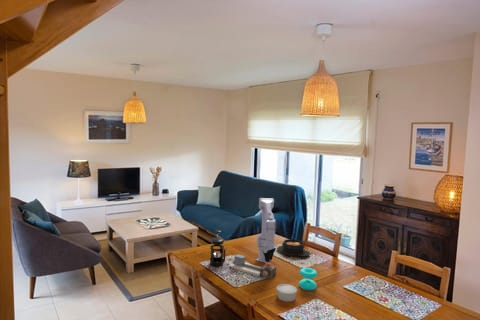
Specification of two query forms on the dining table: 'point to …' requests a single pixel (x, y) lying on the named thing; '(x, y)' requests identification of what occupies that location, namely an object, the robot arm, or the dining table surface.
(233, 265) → the rail
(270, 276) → the cabinet
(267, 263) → the button
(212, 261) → the french press
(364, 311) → the dining table surface
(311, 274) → the donuts
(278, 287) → the ramekin
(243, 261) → the carriage
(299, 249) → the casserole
